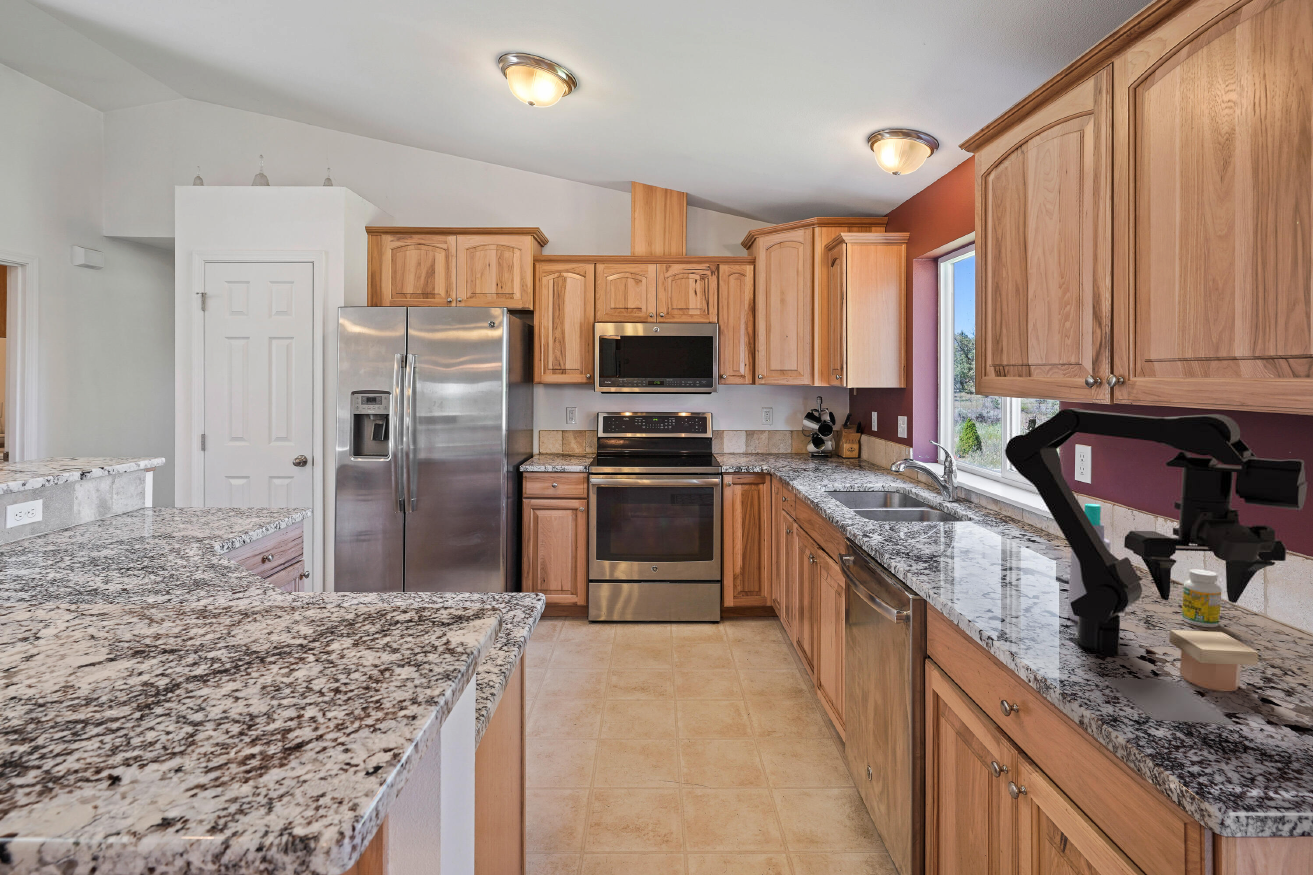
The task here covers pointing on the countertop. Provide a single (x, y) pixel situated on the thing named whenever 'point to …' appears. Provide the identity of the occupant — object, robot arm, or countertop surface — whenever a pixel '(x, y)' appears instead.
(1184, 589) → the supplement bottle
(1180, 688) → the mat
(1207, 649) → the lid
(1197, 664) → the bowl
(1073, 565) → the spray bottle
